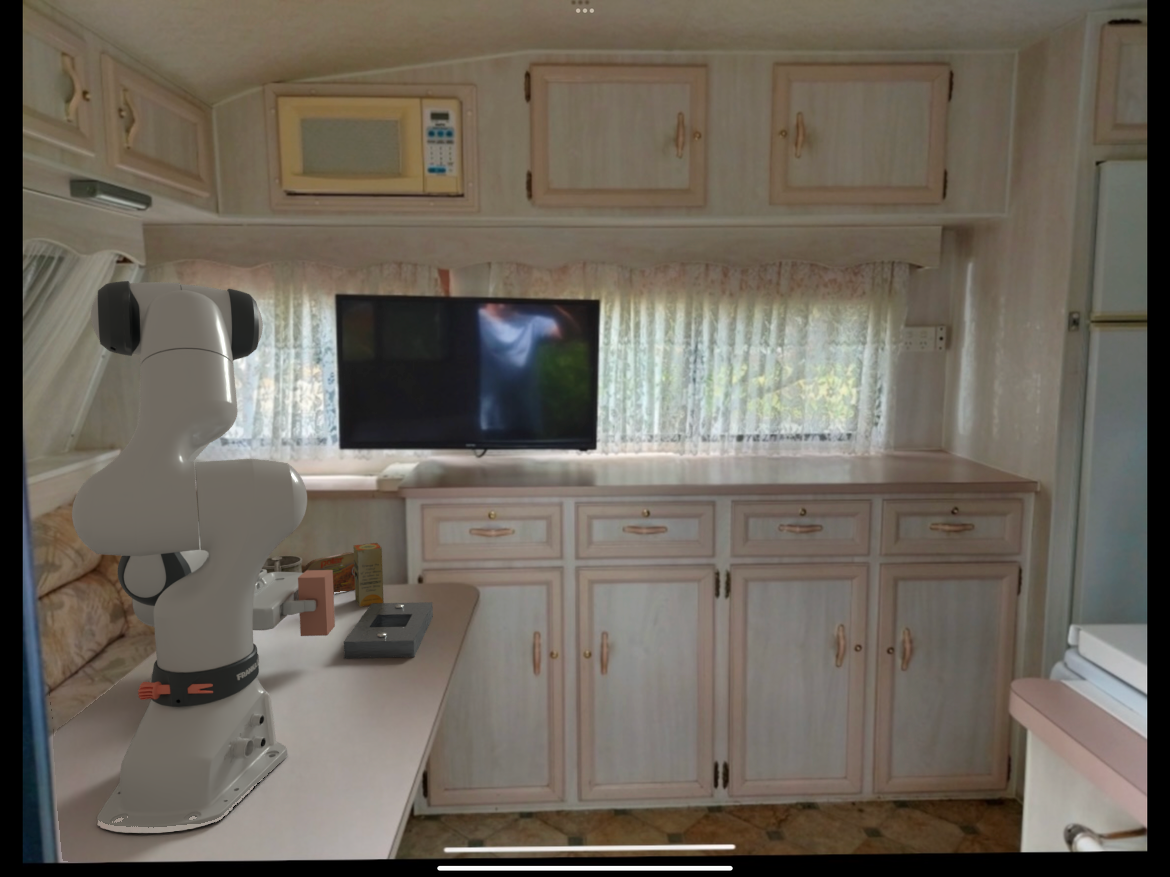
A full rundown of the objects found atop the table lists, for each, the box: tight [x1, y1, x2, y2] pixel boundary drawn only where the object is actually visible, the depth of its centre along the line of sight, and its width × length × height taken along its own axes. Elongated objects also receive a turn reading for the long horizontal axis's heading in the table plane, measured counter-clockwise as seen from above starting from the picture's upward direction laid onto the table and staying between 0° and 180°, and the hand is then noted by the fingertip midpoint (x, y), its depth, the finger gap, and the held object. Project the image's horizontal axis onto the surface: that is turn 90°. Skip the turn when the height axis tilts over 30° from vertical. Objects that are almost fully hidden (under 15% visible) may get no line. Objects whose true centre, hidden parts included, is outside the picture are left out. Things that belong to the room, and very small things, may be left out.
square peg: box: [298, 570, 336, 637], centre depth 126 cm, size 4×4×10 cm
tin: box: [302, 552, 355, 592], centre depth 164 cm, size 15×3×8 cm, turn 133°
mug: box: [262, 555, 303, 573], centre depth 153 cm, size 14×10×12 cm
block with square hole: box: [343, 601, 434, 659], centre depth 139 cm, size 20×12×3 cm, turn 2°
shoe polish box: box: [353, 542, 385, 608], centre depth 158 cm, size 5×5×12 cm
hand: (322, 599), depth 126 cm, fingers closed on square peg, 4 cm apart
